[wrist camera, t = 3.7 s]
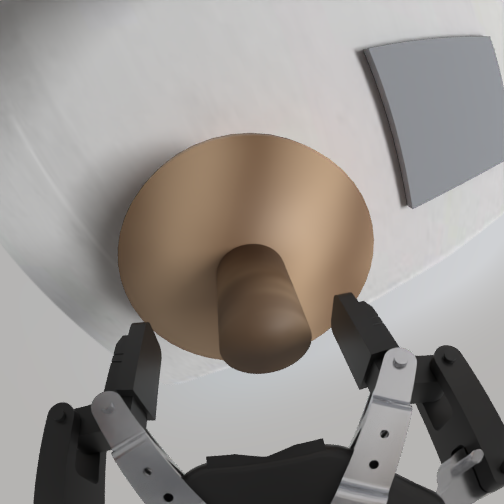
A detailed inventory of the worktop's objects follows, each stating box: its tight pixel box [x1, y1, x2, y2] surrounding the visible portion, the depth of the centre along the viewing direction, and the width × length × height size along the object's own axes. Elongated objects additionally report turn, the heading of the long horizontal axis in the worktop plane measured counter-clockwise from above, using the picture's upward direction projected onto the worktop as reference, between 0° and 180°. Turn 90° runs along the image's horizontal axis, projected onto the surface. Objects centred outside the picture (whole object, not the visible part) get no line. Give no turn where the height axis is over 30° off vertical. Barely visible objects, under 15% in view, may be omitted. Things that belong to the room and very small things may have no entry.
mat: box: [363, 36, 504, 209], centre depth 17 cm, size 16×13×1 cm
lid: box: [118, 133, 374, 374], centre depth 13 cm, size 14×14×6 cm
